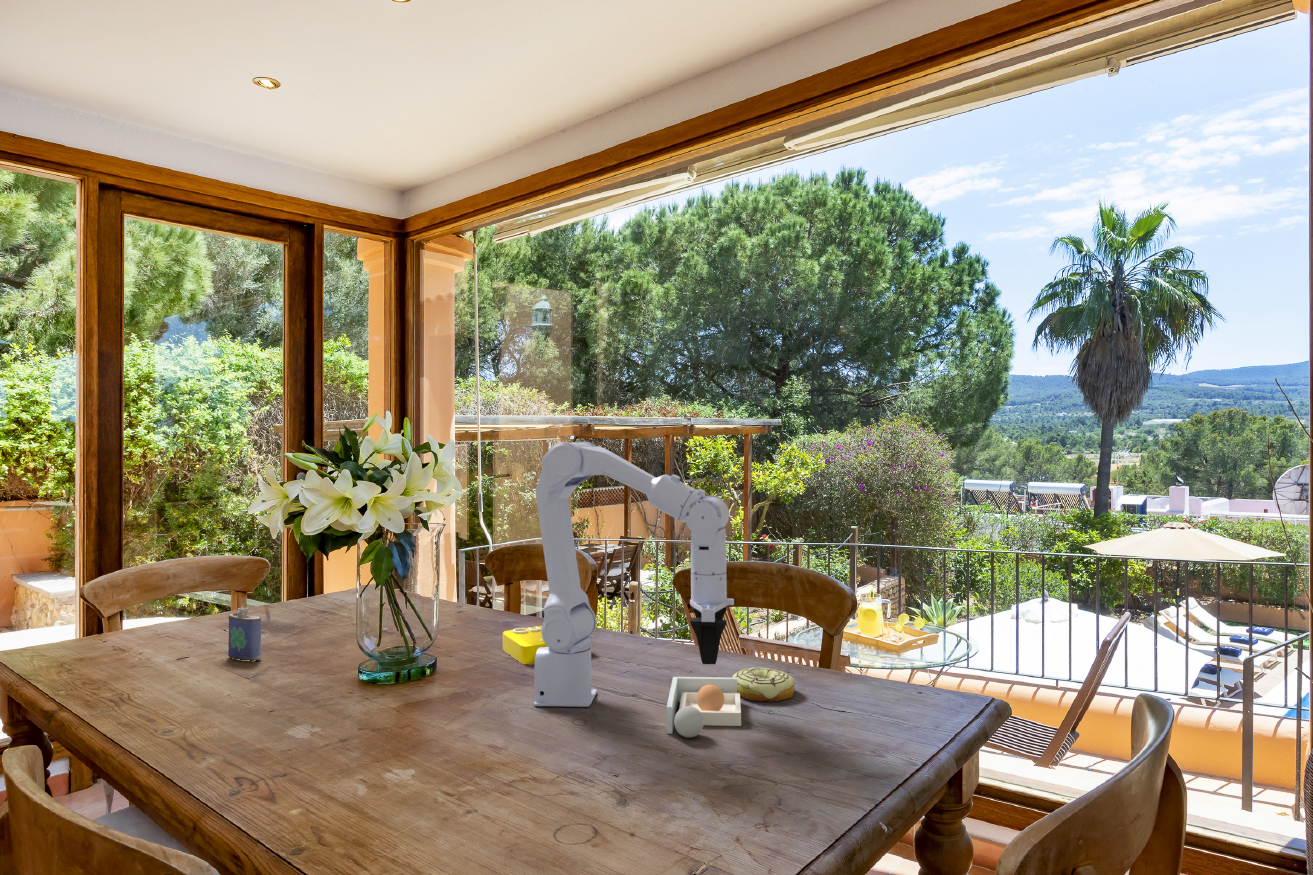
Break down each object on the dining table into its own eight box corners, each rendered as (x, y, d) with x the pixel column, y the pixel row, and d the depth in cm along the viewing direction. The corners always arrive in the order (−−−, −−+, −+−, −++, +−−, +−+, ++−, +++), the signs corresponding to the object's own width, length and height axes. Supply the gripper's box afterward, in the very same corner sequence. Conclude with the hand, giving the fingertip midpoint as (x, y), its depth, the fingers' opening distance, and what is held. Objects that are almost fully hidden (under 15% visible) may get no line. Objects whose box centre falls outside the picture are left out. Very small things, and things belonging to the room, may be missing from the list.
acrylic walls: (666, 733, 117) (666, 706, 117) (673, 700, 132) (673, 676, 132) (739, 734, 116) (738, 708, 116) (737, 701, 131) (736, 677, 131)
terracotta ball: (696, 719, 123) (696, 697, 121) (697, 699, 127) (696, 678, 125) (724, 719, 123) (724, 698, 121) (724, 699, 127) (724, 678, 125)
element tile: (524, 668, 154) (524, 644, 154) (499, 651, 167) (499, 628, 167) (593, 656, 161) (593, 633, 161) (564, 641, 174) (564, 619, 174)
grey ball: (673, 741, 114) (673, 711, 114) (675, 730, 118) (674, 701, 118) (703, 742, 113) (703, 712, 114) (704, 731, 118) (703, 702, 118)
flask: (264, 660, 160) (263, 608, 160) (250, 663, 158) (250, 610, 158) (236, 654, 165) (236, 604, 165) (223, 658, 162) (222, 606, 162)
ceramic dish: (678, 724, 121) (678, 711, 121) (682, 703, 130) (682, 691, 130) (741, 725, 120) (740, 712, 120) (739, 704, 129) (739, 692, 129)
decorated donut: (777, 709, 128) (777, 686, 128) (721, 697, 134) (721, 675, 134) (804, 691, 136) (804, 670, 136) (750, 681, 143) (750, 660, 143)
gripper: (734, 580, 118) (735, 670, 118) (733, 565, 132) (733, 645, 132) (687, 580, 118) (688, 669, 118) (691, 564, 133) (692, 644, 133)
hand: (709, 656), depth 125 cm, fingers open, 7 cm apart
